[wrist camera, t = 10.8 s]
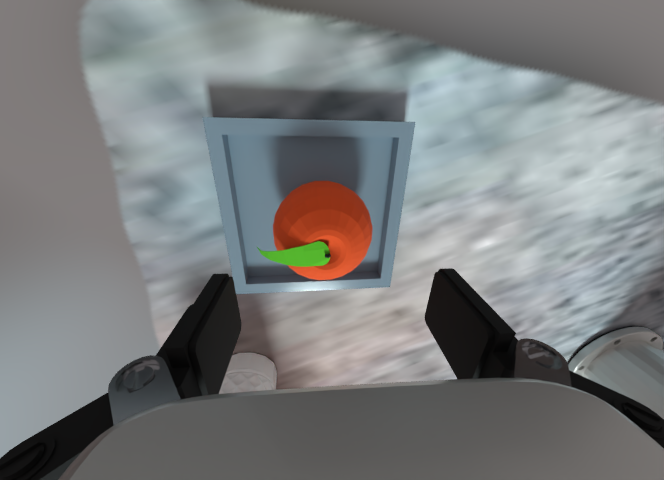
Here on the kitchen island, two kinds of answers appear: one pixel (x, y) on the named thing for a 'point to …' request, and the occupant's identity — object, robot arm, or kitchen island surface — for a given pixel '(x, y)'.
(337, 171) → the dish
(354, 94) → the kitchen island surface
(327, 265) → the clementine
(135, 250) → the kitchen island surface
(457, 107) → the kitchen island surface
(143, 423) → the robot arm
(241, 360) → the white cup
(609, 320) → the kitchen island surface
